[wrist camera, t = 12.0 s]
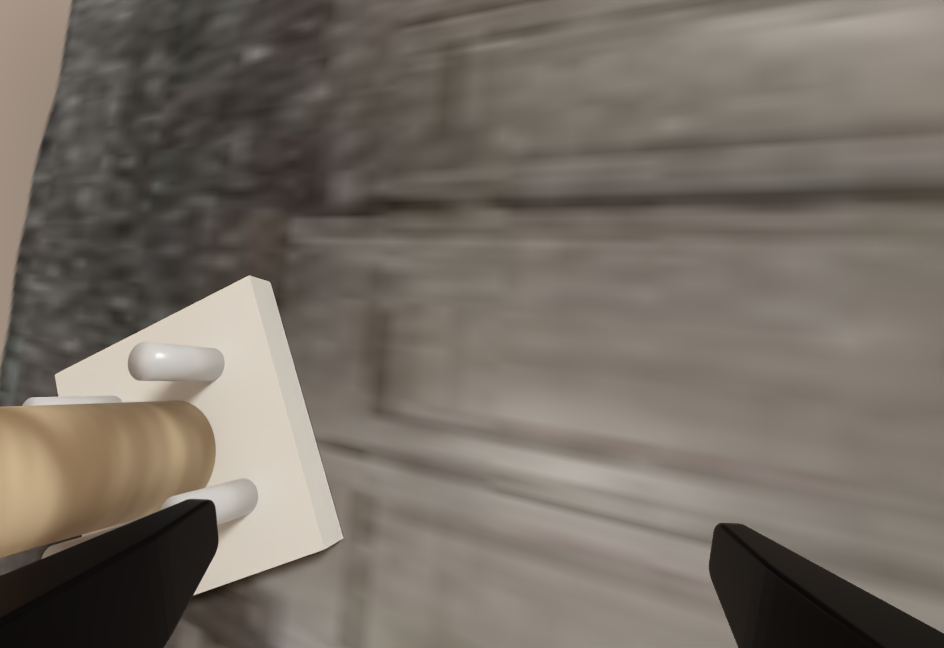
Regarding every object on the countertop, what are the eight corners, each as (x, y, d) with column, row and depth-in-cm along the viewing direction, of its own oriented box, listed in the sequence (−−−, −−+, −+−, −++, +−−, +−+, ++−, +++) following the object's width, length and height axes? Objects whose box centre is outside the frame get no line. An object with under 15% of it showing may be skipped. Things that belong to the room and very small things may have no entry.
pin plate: (343, 538, 21) (268, 582, 17) (127, 614, 24) (8, 671, 19) (270, 282, 24) (187, 256, 19) (84, 375, 27) (-29, 373, 22)
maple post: (234, 444, 22) (-268, 524, 9) (175, 530, 22) (-385, 719, 10) (170, 379, 23) (-334, 373, 11) (117, 461, 23) (-434, 546, 11)
